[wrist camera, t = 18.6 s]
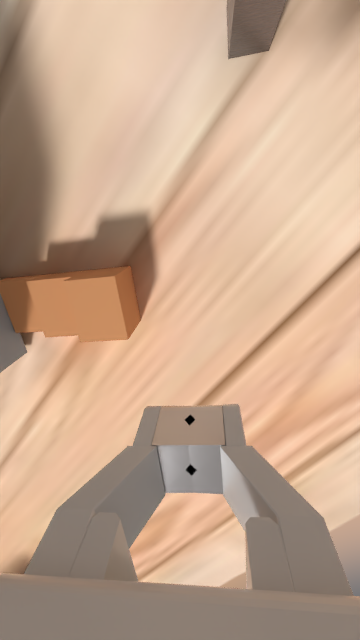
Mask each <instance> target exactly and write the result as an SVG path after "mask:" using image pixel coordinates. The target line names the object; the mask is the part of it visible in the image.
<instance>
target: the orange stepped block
mask: <svg viewBox="0 0 360 640" xmlns="http://www.w3.org/2000/svg"><path fill="white" fill-rule="evenodd" d="M0 294H1V297H2V299H3V302H4V304H5V307H6V309H7V312H8V315H9V317H10V320H11V322H12V325H13V327H14V330H15V332H16V333H25V332H40V331H43V332H44V335H45V337H58V336H74V335H78V336H79V339H80V342H93V341H110V340H128V339H129V337H130V336H131V334H132V333H133V331H134V330H135V328H136V327H137V325H138V324H139V322H140V321H141V318H140V313H139V308H138V302H137V297H136V292H135V286H134V281H133V276H132V271H131V266H124V267H114V268H104V269H94V270H84V271H74V272H64V273H55V274H45V275H35V276H25V277H15V278H5V279H2V280H0Z"/></svg>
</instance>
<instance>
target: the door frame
mask: <svg viewBox="0 0 360 640" xmlns="http://www.w3.org/2000/svg"><path fill="white" fill-rule="evenodd" d="M285 2H286V0H227V27H228V59H230V58H235V57H240V56H245V55H250V54H255V53H260V52H264V51H269V48H270V45H271V42H272V39H273V36H274V34H275V31H276V28H277V25H278V22H279V19H280V16H281V14H282V11H283V8H284V5H285Z"/></svg>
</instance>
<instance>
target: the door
mask: <svg viewBox="0 0 360 640" xmlns="http://www.w3.org/2000/svg"><path fill="white" fill-rule="evenodd" d="M25 353H27V350H26V347H25V345H24V342H23V339H22V337H21V334H20V333H16V332H15V330H14V327H13V325H12V322H11V320H10V317H9V315H8V312H7V309H6V307H5V304H4V302H3V299H2V297H1V294H0V372H2V371H3V370H4V369H6V368H7V367H8V366H10V365H11V364H12V363H14V362H15V361H16V360H18V359H19V358H20V357H22V356H23V355H24V354H25Z"/></svg>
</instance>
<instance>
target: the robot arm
mask: <svg viewBox="0 0 360 640" xmlns="http://www.w3.org/2000/svg"><path fill="white" fill-rule="evenodd" d="M165 493H212V494H223V495H224V497H225V499H226V501H227V502H228V504H229V506H230V507H231V509H232V511H233V512H234V514H235V516H236V517H237V519H238V521H239V522H240V524H241V526H242V527H243V529H244V530H245V538H246V580H247V581H246V583H247V589H240V588H225V587H210V586H196V585H180V584H165V583H150V582H138V579H137V576H136V572H135V569H134V565H133V562H132V558H131V555H130V551H129V548H130V547H131V545H132V544H133V542H134V541H135V539H136V538H137V536H138V535H139V533H140V532H141V530H142V529H143V527H144V526H145V524H146V523H147V521H148V520H149V518H150V517H151V515H152V514H153V512H154V511H155V510H156V508H157V507H158V505H159V504H160V502H161V501H162V499H163V498H164V496H165ZM0 640H360V596H354V595H353V592H352V590H351V588H350V585H349V582H348V580H347V577H346V575H345V572H344V569H343V567H342V564H341V562H340V559H339V557H338V554H337V551H336V549H335V546H334V544H333V541H332V539H331V536H330V533H329V531H328V528H327V526H326V523H325V521H324V518H323V517H322V516H321V515H320V514H319V513H318V512H317V511H316V510H315V509H314V508H313V507H312V506H311V505H310V504H309V503H308V502H307V501H306V500H305V499H304V498H303V497H302V496H301V495H300V494H299V493H298V492H297V491H296V490H295V489H294V488H293V487H292V486H291V485H290V484H289V483H288V482H287V481H286V480H285V479H284V478H283V477H282V476H281V475H280V474H279V473H278V472H277V471H276V470H275V469H274V468H273V467H272V466H271V465H270V464H269V463H268V462H267V461H266V460H265V459H264V458H263V457H262V456H261V455H260V454H259V453H258V452H257V451H256V450H255V449H254V448H253V447H252V446H246V440H245V435H244V429H243V424H242V418H241V412H240V407H239V405H238V404H228V405H210V406H147V407H146V408H145V409H144V412H143V416H142V419H141V422H140V425H139V428H138V431H137V434H136V437H135V440H134V443H133V446H128V447H126V448H125V449H124V450H123V451H122V452H121V453H120V454H119V455H117V456H116V457H115V458H114V459H113V460H112V461H111V462H110V463H108V464H107V465H106V466H105V467H104V468H103V469H102V470H101V471H99V472H98V473H97V474H96V475H95V476H94V477H93V478H92V479H90V480H89V481H88V482H87V483H86V484H85V485H84V486H83V487H81V488H80V489H79V490H78V491H77V492H76V493H75V494H73V495H72V496H71V497H70V498H69V499H68V500H67V501H66V502H64V503H63V504H62V505H61V506H60V507H59V508H58V509H57V510H56V512H55V514H54V516H53V518H52V520H51V522H50V524H49V526H48V528H47V530H46V532H45V534H44V536H43V537H42V539H41V541H40V543H39V545H38V547H37V549H36V551H35V553H34V555H33V557H32V559H31V561H30V563H29V565H28V567H27V569H26V570H25V572H24V574H12V573H0Z"/></svg>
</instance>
